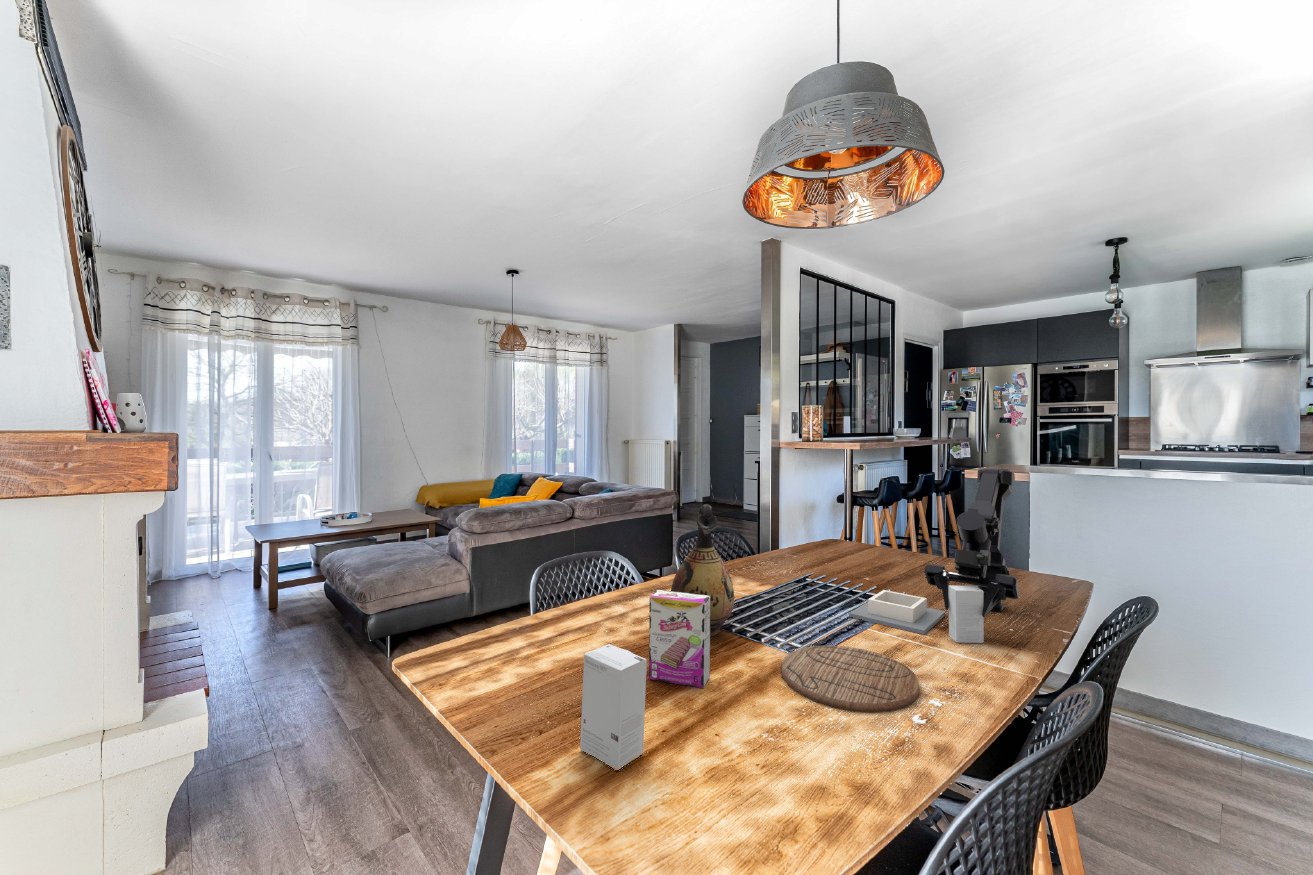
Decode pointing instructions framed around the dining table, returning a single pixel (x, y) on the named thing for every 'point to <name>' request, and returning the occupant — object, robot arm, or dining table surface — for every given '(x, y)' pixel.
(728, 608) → the ceramic jug
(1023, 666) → the dining table surface
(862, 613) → the slate board
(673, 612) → the candy bar box
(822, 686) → the trivet
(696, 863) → the dining table surface
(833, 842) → the dining table surface
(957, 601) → the skincare box
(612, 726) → the skincare box
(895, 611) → the holder
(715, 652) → the dining table surface
